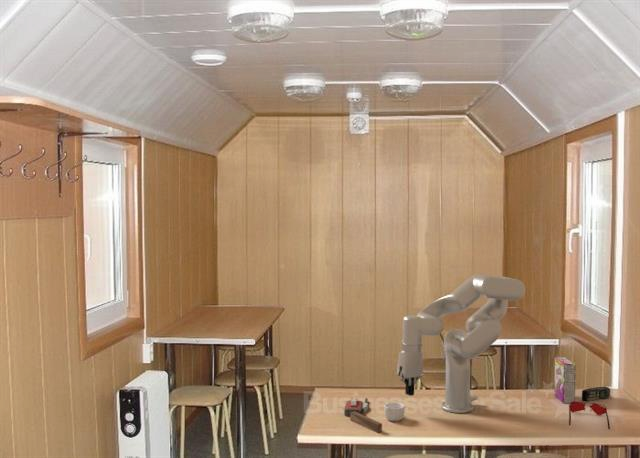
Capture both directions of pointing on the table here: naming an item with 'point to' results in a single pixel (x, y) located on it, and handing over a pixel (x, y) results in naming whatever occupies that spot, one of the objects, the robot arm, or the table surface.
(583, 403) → the glasses
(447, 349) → the robot arm
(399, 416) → the teacup
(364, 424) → the stop bar
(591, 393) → the mobile phone
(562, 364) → the candy bar box
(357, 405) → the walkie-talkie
